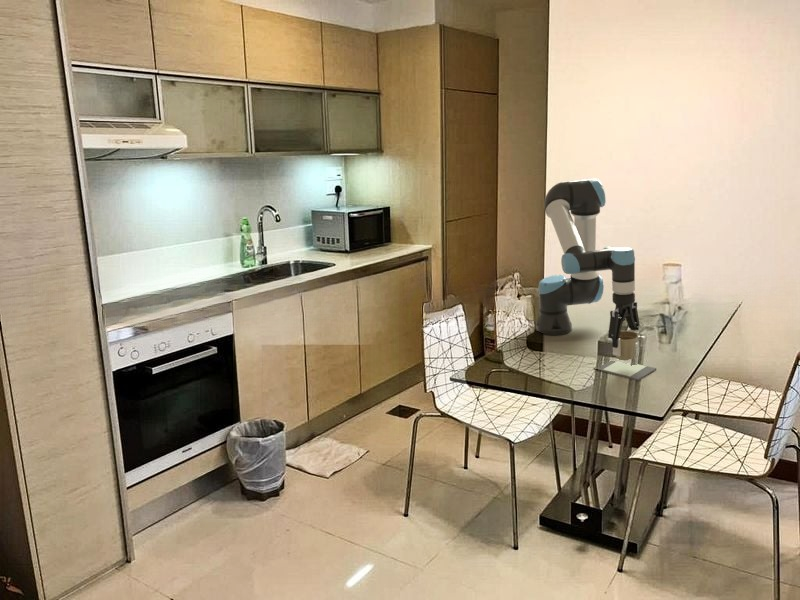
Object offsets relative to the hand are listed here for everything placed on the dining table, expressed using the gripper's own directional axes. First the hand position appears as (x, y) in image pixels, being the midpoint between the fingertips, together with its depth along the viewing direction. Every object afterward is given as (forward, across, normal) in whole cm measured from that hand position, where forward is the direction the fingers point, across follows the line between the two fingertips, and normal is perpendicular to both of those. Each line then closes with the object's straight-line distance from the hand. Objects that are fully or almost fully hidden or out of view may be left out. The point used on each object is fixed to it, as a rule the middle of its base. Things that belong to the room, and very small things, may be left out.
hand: (624, 350), depth 240 cm
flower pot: (+3, 0, 0) cm, 3 cm away
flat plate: (+7, 0, 0) cm, 7 cm away
